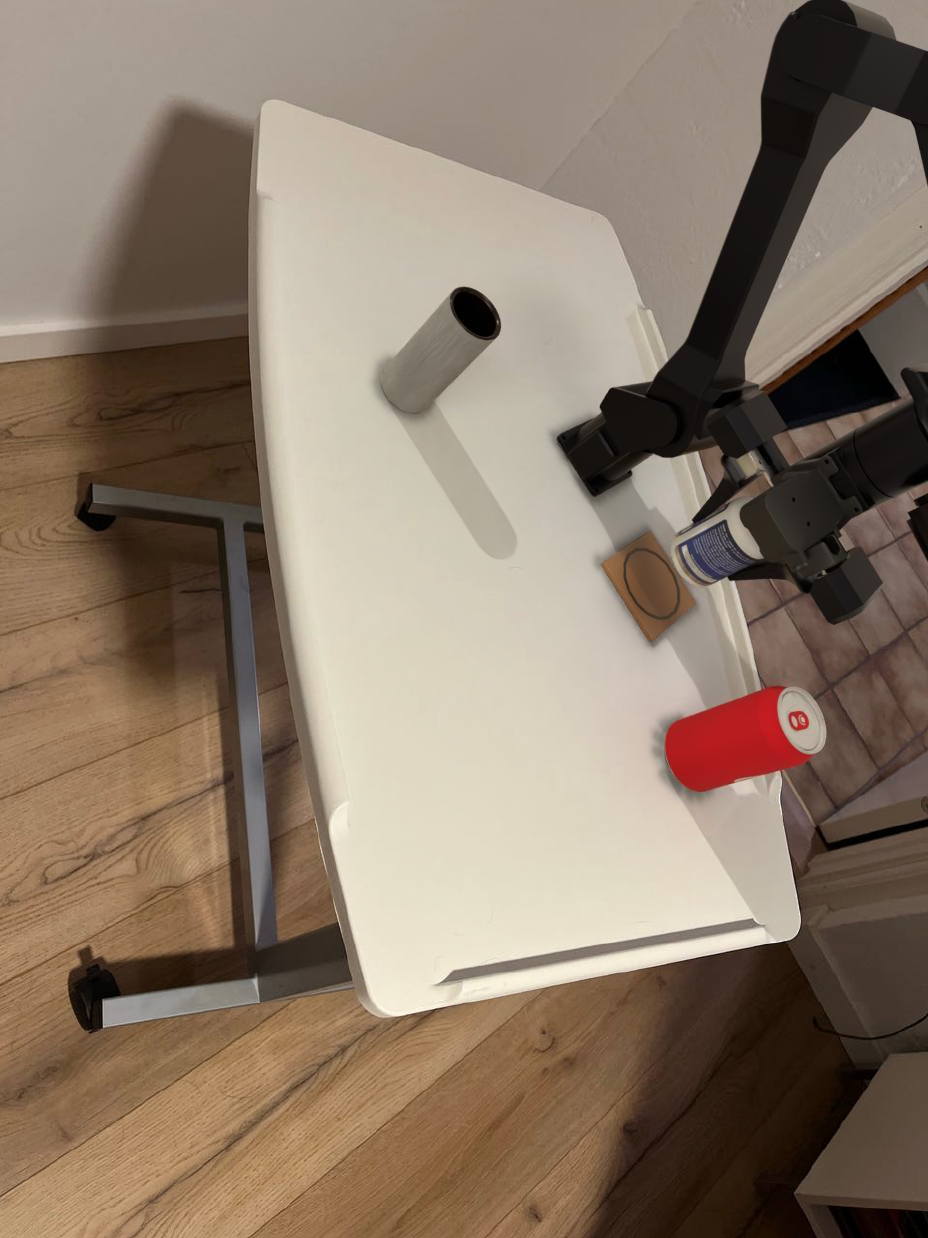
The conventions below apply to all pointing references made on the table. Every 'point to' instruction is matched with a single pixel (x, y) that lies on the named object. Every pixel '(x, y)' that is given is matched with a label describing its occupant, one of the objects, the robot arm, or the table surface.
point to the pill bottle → (715, 546)
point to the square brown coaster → (649, 585)
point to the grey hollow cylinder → (441, 350)
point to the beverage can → (745, 738)
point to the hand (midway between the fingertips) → (712, 548)
